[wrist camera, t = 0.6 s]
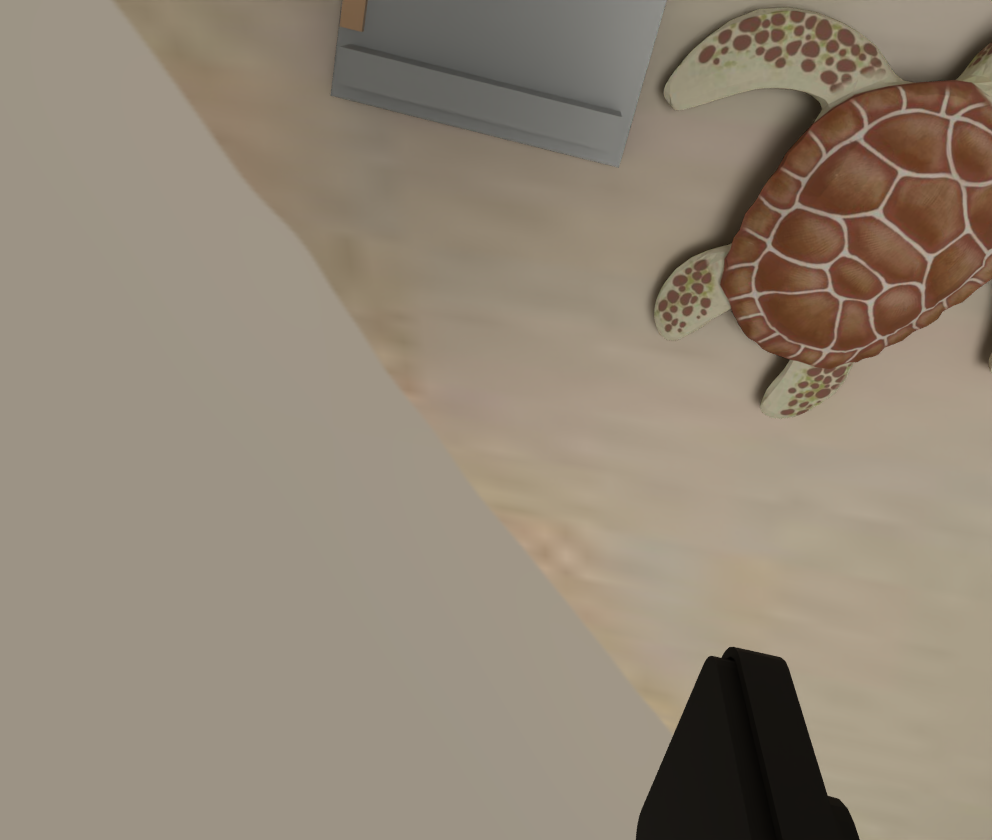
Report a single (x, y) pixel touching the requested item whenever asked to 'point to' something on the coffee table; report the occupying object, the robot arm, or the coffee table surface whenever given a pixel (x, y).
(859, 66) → the decorative turtle
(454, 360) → the coffee table surface
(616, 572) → the coffee table surface
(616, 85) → the slot rack
